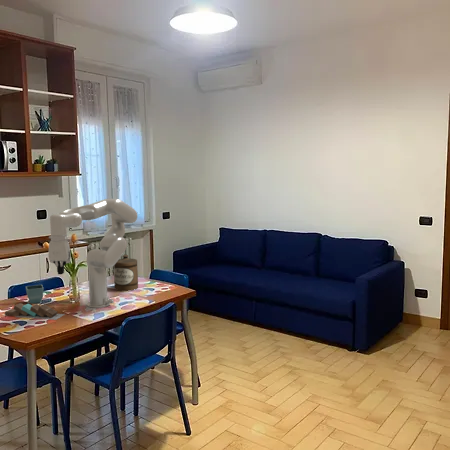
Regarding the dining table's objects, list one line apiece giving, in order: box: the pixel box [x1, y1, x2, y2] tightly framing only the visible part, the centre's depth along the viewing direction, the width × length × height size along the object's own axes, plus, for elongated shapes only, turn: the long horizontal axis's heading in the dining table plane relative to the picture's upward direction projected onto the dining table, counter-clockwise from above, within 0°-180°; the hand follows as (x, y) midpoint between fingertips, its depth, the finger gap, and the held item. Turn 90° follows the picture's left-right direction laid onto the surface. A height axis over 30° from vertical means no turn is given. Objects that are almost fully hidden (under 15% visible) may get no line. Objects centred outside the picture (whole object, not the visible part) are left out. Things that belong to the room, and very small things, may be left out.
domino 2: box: [12, 302, 30, 316], centre depth 241 cm, size 2×5×8 cm
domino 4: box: [38, 304, 58, 318], centre depth 239 cm, size 2×5×8 cm
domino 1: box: [4, 308, 22, 317], centre depth 242 cm, size 2×5×8 cm
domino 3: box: [30, 303, 47, 317], centre depth 240 cm, size 2×5×8 cm
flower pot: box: [25, 284, 44, 304], centre depth 265 cm, size 9×9×9 cm
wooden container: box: [113, 253, 139, 292], centre depth 297 cm, size 15×15×22 cm
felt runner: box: [15, 313, 66, 320], centre depth 240 cm, size 23×9×1 cm, turn 80°
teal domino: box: [21, 302, 38, 317], centre depth 241 cm, size 2×5×8 cm
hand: (60, 273), depth 238 cm, fingers closed
